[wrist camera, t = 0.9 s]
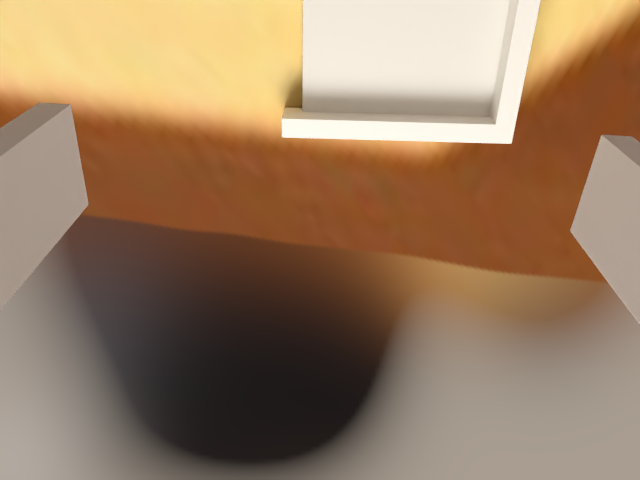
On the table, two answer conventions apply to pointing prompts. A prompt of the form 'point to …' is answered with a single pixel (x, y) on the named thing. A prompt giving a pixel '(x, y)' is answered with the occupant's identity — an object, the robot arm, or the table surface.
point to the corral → (413, 69)
